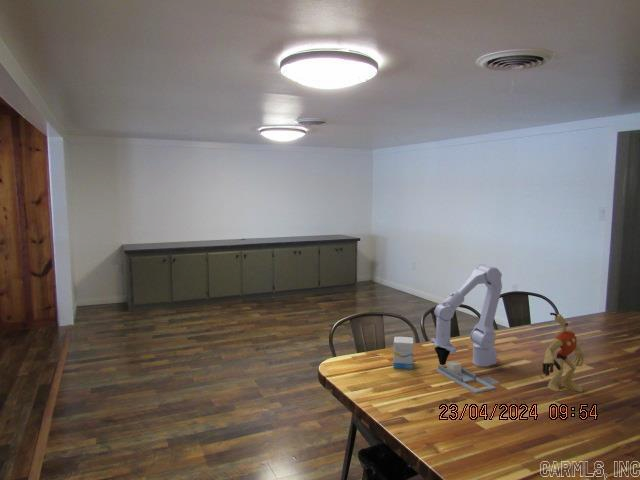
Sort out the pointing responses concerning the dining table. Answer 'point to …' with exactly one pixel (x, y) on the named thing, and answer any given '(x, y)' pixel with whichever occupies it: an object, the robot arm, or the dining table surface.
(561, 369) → the toy
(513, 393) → the dining table surface
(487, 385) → the rail board
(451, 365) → the block
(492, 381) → the pad
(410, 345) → the ink box
